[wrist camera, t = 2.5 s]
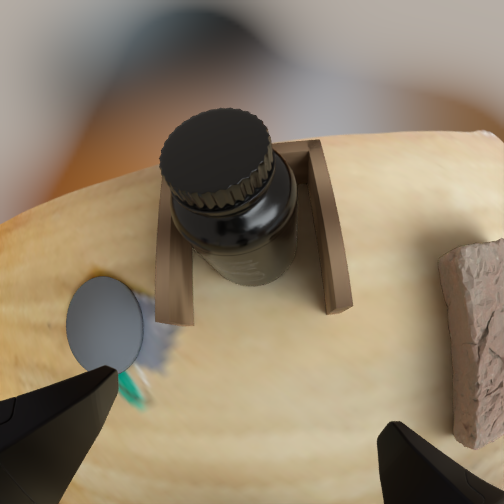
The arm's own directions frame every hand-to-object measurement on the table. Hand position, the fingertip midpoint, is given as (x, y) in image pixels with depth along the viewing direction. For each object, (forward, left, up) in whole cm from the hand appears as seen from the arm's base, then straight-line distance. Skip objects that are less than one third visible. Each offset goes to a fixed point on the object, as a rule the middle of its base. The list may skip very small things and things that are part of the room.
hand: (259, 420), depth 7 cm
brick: (+10, -15, -13) cm, 22 cm away
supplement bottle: (+7, +7, -12) cm, 16 cm away
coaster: (-6, +15, -12) cm, 20 cm away
